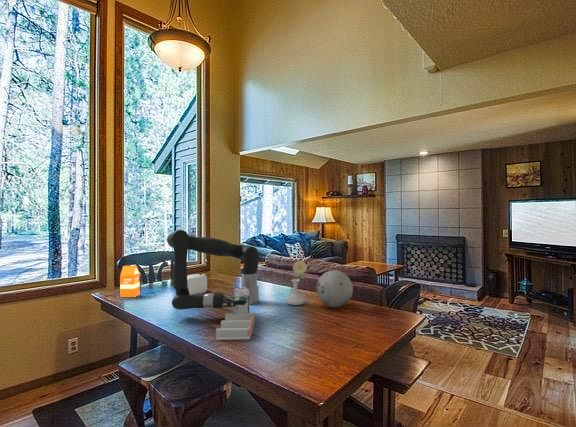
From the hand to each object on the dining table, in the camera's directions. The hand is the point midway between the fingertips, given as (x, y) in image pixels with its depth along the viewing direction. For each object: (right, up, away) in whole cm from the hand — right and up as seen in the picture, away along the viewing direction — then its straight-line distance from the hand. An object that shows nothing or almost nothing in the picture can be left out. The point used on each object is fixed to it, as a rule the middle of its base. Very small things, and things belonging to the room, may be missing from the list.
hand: (246, 300), depth 160 cm
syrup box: (-2, -9, 0) cm, 9 cm away
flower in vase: (+26, -8, +22) cm, 35 cm away
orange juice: (-81, -10, +45) cm, 93 cm away
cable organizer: (-42, -10, +52) cm, 67 cm away
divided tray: (-2, -9, -18) cm, 20 cm away
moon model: (+47, -8, +16) cm, 50 cm away
